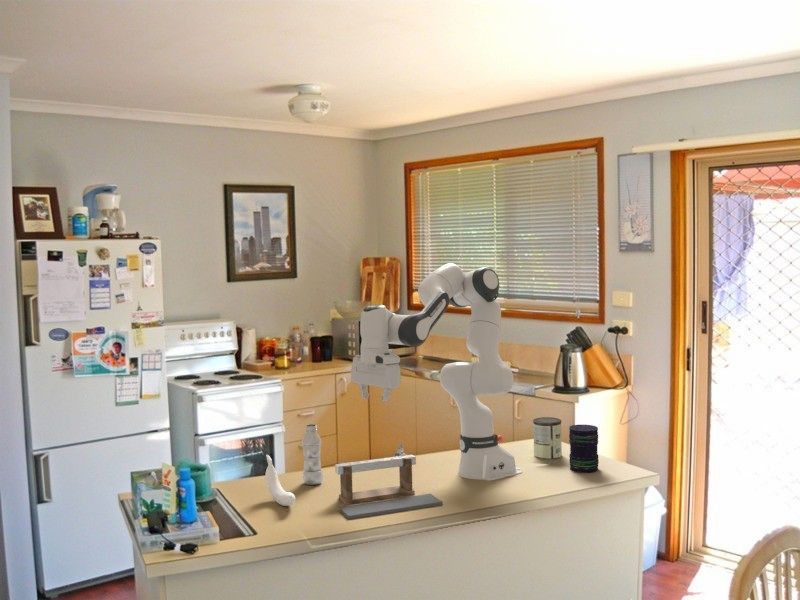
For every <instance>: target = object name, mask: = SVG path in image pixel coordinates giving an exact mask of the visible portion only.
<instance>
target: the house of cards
mask: <svg viewBox="0 0 800 600" xmlns="http://www.w3.org/2000/svg"><path fill="white" fill-rule="evenodd" d="M397 450H398V451H397V452H395V453H394V456H393V457H397V456H399V455H403V454H405V455H408V454H406V453H405V452H404V446H403V444H402V443H400V444H399V445H398V447H397Z"/></svg>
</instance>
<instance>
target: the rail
mask: <svg viewBox="0 0 800 600" xmlns="http://www.w3.org/2000/svg"><path fill="white" fill-rule="evenodd" d="M405 458H412V466H414V465H417V460H416V459H417V456H415V455H413V454H407V455H405V456H397V457H394V456H392V457H391V456H390V457H382V458H375V459H368V460H358V461H351V462H347V463H341V464H340V463H335V464H334V468H335V471H334V472H335V474H337V475H340V474H345V466H349V465H351V466H352V474H353V473H360V472H369V471H375V470H376V471H377V470H383V469H389V468H391V469H392V468H399V467H400V466H405Z"/></svg>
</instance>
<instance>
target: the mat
mask: <svg viewBox="0 0 800 600" xmlns="http://www.w3.org/2000/svg"><path fill="white" fill-rule="evenodd" d="M443 503H444V502H443V500H440V499H439V498H438V497H436V496H434V494H432V493H426V494H419V495H410V496H406V497H405V496H403V497H396V498H390V499H385V500H384V499H383V500H376V501H369V502H365V503H364V502H363V503H356V504H349V505H343V506H339V507H338V511H339V512H341V514H342V515H343V516H344V517H345V518H346V519H347V520H355V519H359V518H365V517H366V518H368V517H372V516H379V515H386V514H393V513H398V512H399V513H400V512H405V511H412V510H420V509H423V508H424V509H425V508H431V507H432V508H433V507H437V506H443Z"/></svg>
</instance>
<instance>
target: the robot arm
mask: <svg viewBox="0 0 800 600" xmlns="http://www.w3.org/2000/svg"><path fill="white" fill-rule="evenodd" d="M499 289H500V280H499V276H498V275H497V273H496V271H495V270H494V269H493V268H490V267H485V266H484V267H478V268H476V269H475V270H471V271H468V272H466V273H464V272H463V270H462V268H461V267H460V266H458V265H457V264H455V263H445V264H443V265H442V266H440V267H438V268H436V269H434V270H433V271H432V272H431V273H430V274H428V275H427V276H426V277H425V278H424V279H423V280H422V281H421V282H420V283H419V286H418V288H417V294H418V298H419V300H420V302H421V303H422V305H423V306H424V307H423V309H422V310H421V311H420V312H418V313H416V314H397V313H394V312H392V311H390V310H389V309H387V308H386V307H387V306H386V305H383V304H372V305H367V306H365V307H364V308H362V311H361V314H360V321H359V323H360V326H359V329H360V330H359V331H360V332H359V333H360V337H361V343H360V354H356V355H355V356H353V358H352V364H351V369H350V381H351V383H353V384H357V385H358V388H359V391H360V393H361V399H369V398H370V393H369V392H368V390H367V386H371V387H376V388H377V387H378V388H379V387H380V388H382V389H383V392H384V393H383V394H382V395H381V401H382V402H384V403H385V402H387V403H388V402H389V401H390V395H391V392H392V389H397V388H399V387H400V386H401V381H402V380H401V378H402V377H401V376H402V375H401V373H402V372H401V368H400V367H401V366H400V365H399V363H400V362H401V358H400V356H399V355H397V354H395V353H394V352H392V351H391V350H389V344H390V345H401V346H409V347H413V348H418V347H420V346H422V345H423V344H424V343H426V341H427V339H428V337H429V335H430V332H431V331H432V330H433V328H434V326H435V325H436V324H437V322H439V320H440V319H441V317H442V316H443V315H444V313H445V312H446V311H447V309H448V307H449V306H450V304H451V305H452V307H455V308H466V307H468V306H470V310H471V311H470V312H471V314H470V318H469V323H468V329H467V336H466V342H465V346H466V347H467V348H466V349H468V351H469V352H470V353H472V355H475V356H476V357H478V358H479V359H478V361H476V362H474V361H473V362H472V361H471V362H470V361H455V362H450V363H445V364H444V365H443V366H442V368H441V370H440V372H439V382H440V385H441V388H442V389H443V390H444V391H445V392H447V393H448V394H449V395H450V396H451V398H452V399H453V401H454V402H455V403H456V405H457V408H458V412H459V418H460V434H459V451H460V458H459V464H458V465H459V466H458V470H457V476H459V477H462V478H464V479H469V480H481V481H488V482H490V481H494V480H500V479H505V478H508V477H513V476H517V475H520V474H523V470H522V469H521V468H520V467H519V466H516V465H517V464H516V461H515V457H514V455H513V454H512V453H511V452H510V451H508V450H507V449H506V448H504V447H503V446H501V445H500V444H499V442H500V443H502V442H503V441H504V439H505V437H504V436H503V435H501V434H496V433H494V413H493V412H492V410H491V408H489V407H488V406H487V405H485V404H483V403H482V402H481V401H480V400H479V398H478V395H479V396H480V395H481V396H499V395H505V394H508V393H509V391H511V390H512V387H513V385H514V374H513V371H512V369H511V368H510V367H509V366H508V365H507V364H506V363H505V362H504V361H503V360H502V358H501V355H500V352H499V342H500V341H499V340H500V332H501V325H502V309H501V304H500V303H499V302H498V301H497V300H496V299H498V297H499Z"/></svg>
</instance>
